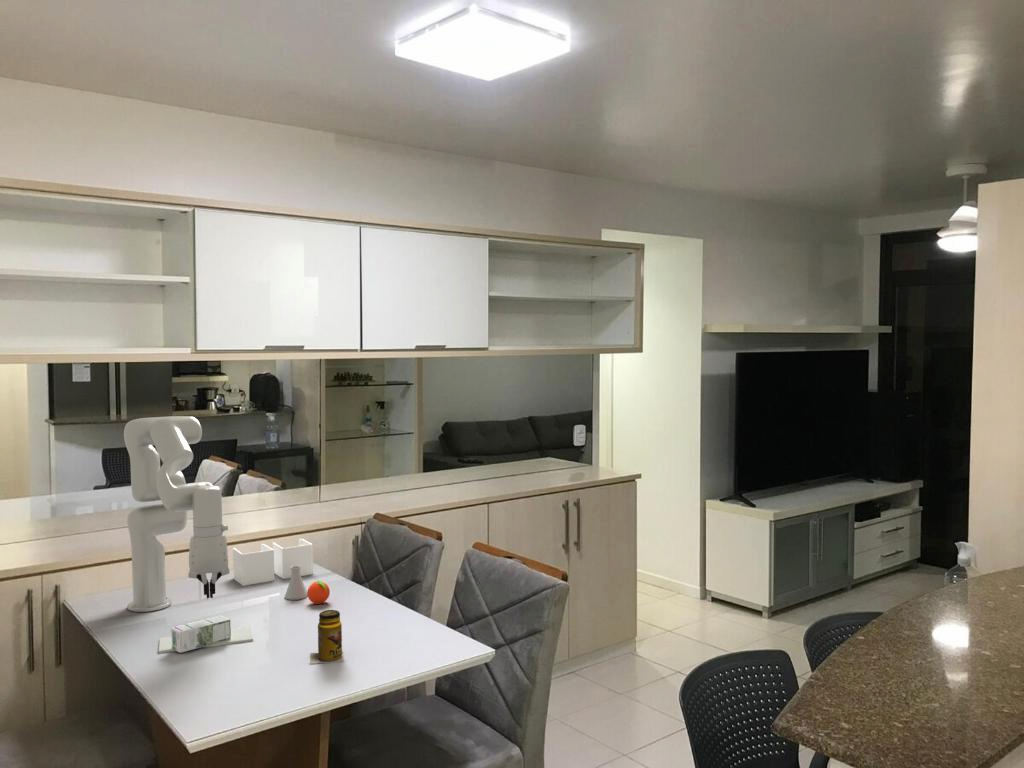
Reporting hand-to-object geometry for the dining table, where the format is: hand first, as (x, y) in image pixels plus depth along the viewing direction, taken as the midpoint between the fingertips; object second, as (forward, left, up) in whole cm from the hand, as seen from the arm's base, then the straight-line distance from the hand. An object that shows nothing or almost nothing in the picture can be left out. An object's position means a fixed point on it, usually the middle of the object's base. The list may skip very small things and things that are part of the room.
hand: (209, 596), depth 232 cm
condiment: (+26, +28, -12) cm, 40 cm away
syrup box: (+1, +4, -9) cm, 10 cm away
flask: (-32, +27, -12) cm, 44 cm away
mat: (0, -1, -12) cm, 12 cm away
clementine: (-22, +33, -12) cm, 41 cm away
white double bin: (-61, +22, -12) cm, 66 cm away
